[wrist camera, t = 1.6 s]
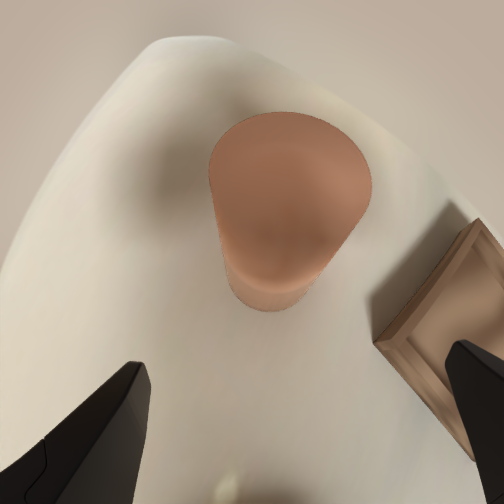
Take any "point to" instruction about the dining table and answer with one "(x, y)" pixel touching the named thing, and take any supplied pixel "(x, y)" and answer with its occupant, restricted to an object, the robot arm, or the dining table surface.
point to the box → (450, 322)
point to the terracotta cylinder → (284, 203)
